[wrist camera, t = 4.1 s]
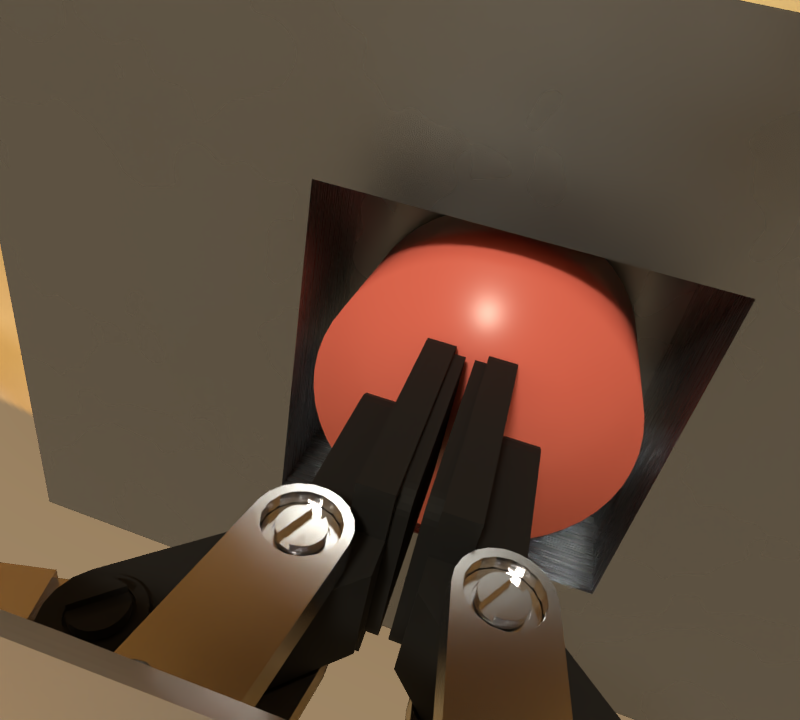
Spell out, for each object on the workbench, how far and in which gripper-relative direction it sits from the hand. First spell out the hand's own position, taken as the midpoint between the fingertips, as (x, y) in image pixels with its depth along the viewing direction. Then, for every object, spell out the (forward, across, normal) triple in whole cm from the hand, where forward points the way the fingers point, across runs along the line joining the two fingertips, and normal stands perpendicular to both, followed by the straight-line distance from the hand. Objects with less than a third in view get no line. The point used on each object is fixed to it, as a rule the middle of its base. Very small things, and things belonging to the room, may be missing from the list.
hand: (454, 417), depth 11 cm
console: (+6, 0, 0) cm, 6 cm away
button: (+3, 0, 0) cm, 3 cm away
